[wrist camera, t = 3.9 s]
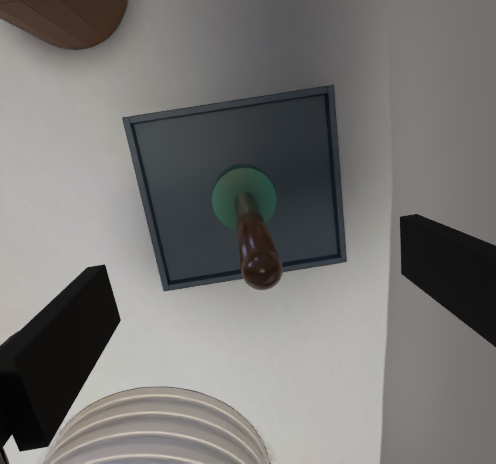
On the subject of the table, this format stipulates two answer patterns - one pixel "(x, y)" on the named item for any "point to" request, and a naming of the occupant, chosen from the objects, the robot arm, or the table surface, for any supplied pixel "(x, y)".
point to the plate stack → (158, 431)
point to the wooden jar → (65, 20)
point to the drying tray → (232, 153)
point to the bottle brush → (249, 221)
